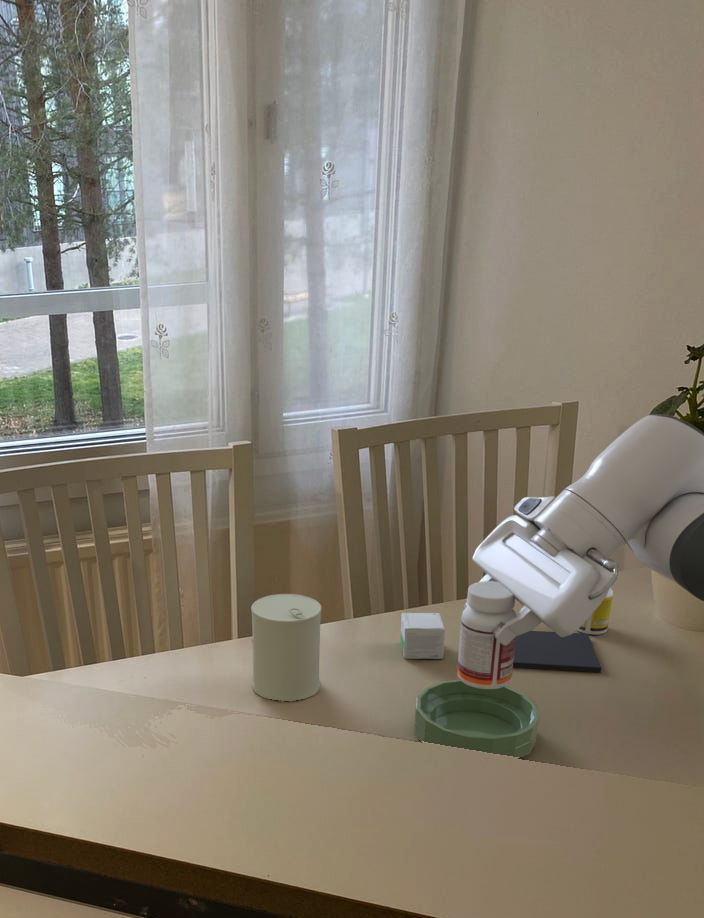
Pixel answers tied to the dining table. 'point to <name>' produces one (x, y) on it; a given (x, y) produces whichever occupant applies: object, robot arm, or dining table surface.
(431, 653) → the small box
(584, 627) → the supplement bottle
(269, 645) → the can
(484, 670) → the pill bottle
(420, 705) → the bowl
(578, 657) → the mat
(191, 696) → the dining table surface
